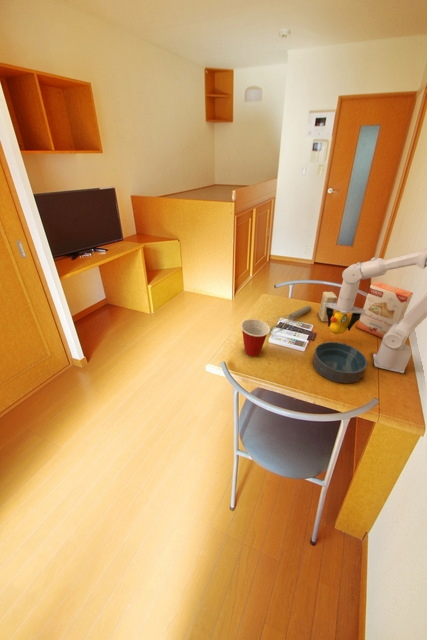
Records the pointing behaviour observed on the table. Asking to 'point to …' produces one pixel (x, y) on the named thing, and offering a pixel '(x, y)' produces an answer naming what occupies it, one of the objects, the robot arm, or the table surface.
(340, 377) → the bowl
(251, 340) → the plastic cup
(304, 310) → the kitchen whisk
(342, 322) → the duckling
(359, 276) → the robot arm
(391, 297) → the cracker box
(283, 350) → the table surface
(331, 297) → the cosmetic box
